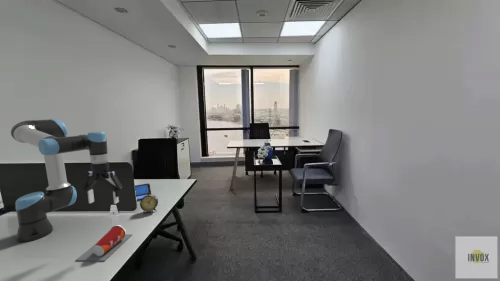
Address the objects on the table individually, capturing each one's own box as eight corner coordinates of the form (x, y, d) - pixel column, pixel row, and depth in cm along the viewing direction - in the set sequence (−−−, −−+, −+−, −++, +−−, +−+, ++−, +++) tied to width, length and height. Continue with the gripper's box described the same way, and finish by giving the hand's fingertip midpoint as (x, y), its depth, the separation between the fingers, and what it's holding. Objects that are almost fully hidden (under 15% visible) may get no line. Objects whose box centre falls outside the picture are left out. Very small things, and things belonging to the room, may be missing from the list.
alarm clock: (140, 213, 152) (138, 190, 150) (143, 210, 157) (141, 188, 155) (157, 212, 153) (155, 189, 151) (159, 209, 159) (157, 186, 157)
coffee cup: (109, 251, 105) (129, 231, 120) (96, 239, 105) (118, 221, 119) (100, 261, 107) (121, 240, 122) (86, 249, 107) (109, 230, 121)
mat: (75, 261, 104) (75, 260, 104) (107, 235, 126) (107, 234, 126) (104, 261, 103) (104, 260, 103) (132, 235, 125) (132, 234, 125)
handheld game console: (131, 202, 172) (130, 191, 171) (129, 197, 183) (128, 186, 182) (153, 198, 180) (152, 187, 179) (150, 193, 191) (149, 182, 190)
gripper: (70, 164, 111) (75, 205, 114) (118, 164, 109) (122, 206, 112) (82, 160, 118) (87, 199, 121) (127, 160, 116) (131, 200, 119)
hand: (104, 202), depth 116 cm, fingers open, 13 cm apart
